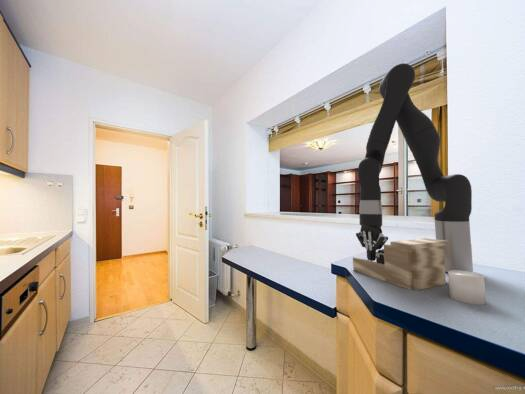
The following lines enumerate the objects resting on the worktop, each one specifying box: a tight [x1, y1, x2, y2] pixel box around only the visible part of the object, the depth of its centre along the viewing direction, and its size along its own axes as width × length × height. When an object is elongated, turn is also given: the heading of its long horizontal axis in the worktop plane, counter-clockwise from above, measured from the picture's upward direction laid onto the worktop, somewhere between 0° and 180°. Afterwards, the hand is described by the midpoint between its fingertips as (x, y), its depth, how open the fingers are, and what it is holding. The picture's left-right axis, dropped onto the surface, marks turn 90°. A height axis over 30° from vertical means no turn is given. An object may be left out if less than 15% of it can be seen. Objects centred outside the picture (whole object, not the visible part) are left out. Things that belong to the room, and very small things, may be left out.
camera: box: [375, 248, 385, 265], centre depth 71 cm, size 13×8×9 cm, turn 179°
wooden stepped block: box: [352, 237, 448, 291], centre depth 71 cm, size 16×22×12 cm
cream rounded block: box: [447, 270, 487, 306], centre depth 53 cm, size 6×6×6 cm
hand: (371, 260), depth 80 cm, fingers closed
